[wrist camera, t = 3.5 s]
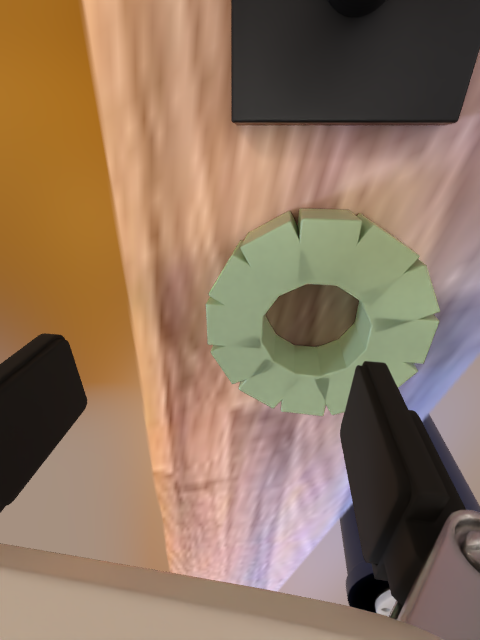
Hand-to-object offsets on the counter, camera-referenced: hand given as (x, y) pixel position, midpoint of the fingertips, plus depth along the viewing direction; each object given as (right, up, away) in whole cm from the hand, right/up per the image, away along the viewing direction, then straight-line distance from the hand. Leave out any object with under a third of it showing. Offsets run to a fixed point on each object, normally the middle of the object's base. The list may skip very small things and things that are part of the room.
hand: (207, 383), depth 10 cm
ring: (+5, +3, +6) cm, 8 cm away
